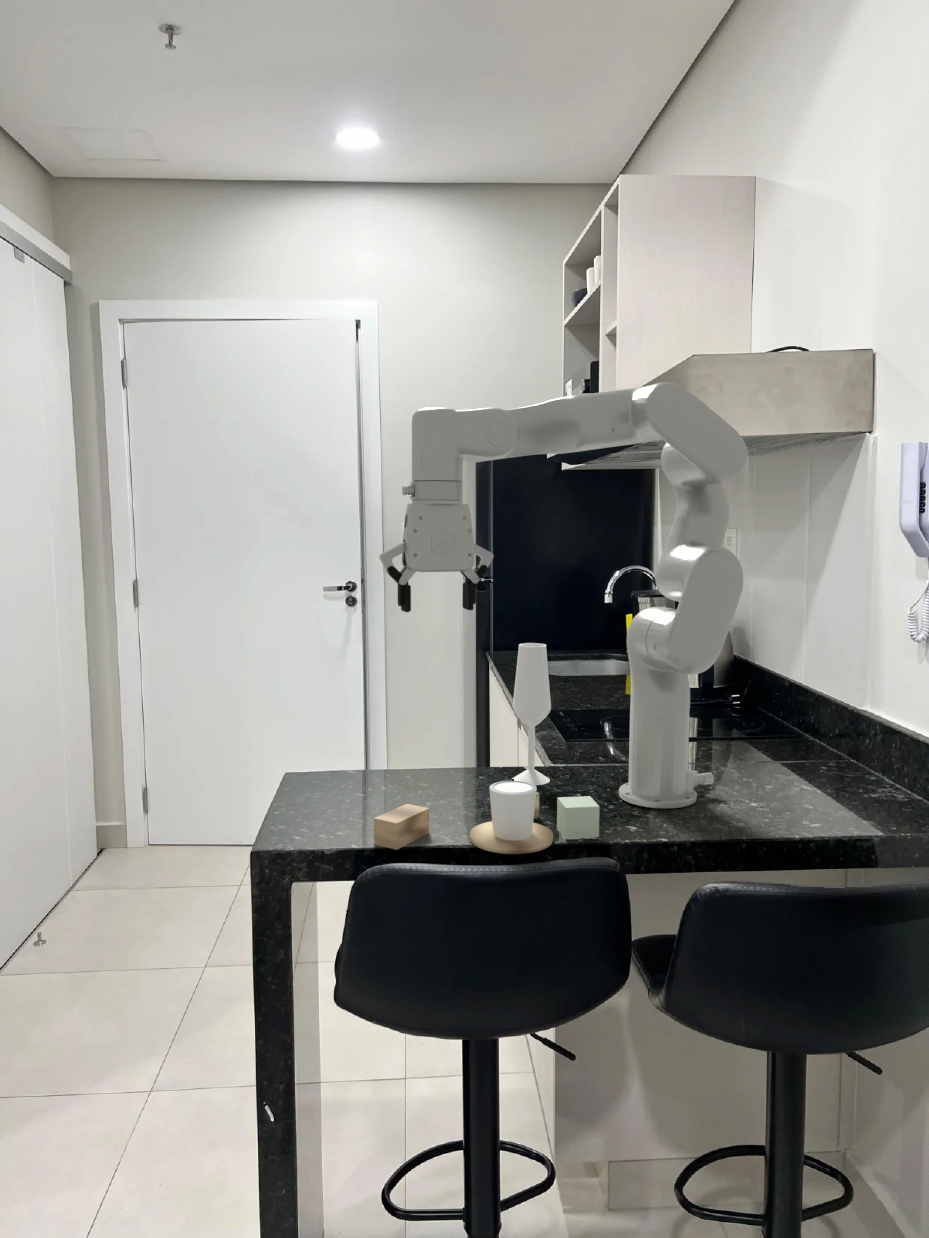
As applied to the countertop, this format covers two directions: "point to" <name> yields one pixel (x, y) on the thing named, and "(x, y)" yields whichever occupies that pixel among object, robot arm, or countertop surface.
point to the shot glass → (512, 809)
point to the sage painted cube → (577, 817)
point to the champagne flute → (532, 700)
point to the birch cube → (536, 806)
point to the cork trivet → (487, 841)
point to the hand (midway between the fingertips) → (437, 610)
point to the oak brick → (401, 826)
